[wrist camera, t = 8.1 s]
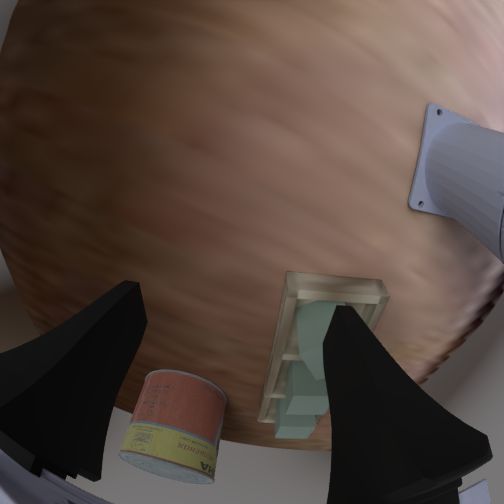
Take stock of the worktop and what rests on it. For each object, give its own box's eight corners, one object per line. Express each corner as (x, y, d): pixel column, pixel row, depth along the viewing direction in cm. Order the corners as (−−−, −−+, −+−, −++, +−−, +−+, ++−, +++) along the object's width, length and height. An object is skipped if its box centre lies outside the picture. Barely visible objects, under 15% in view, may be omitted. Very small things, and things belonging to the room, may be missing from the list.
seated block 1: (330, 354, 25) (336, 395, 21) (320, 376, 27) (324, 414, 23) (292, 353, 25) (293, 395, 21) (285, 375, 27) (285, 414, 23)
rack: (381, 280, 21) (389, 296, 19) (316, 410, 32) (317, 423, 30) (286, 271, 21) (287, 288, 19) (258, 408, 32) (257, 421, 30)
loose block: (341, 291, 21) (353, 336, 17) (352, 322, 23) (363, 365, 18) (296, 307, 22) (299, 353, 18) (311, 336, 24) (316, 380, 19)
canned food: (217, 418, 35) (205, 487, 25) (145, 396, 34) (123, 463, 24) (236, 385, 29) (223, 476, 19) (145, 358, 28) (112, 444, 18)
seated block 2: (313, 391, 29) (316, 426, 24) (305, 405, 31) (307, 438, 26) (280, 389, 29) (280, 426, 24) (275, 404, 31) (274, 437, 26)
